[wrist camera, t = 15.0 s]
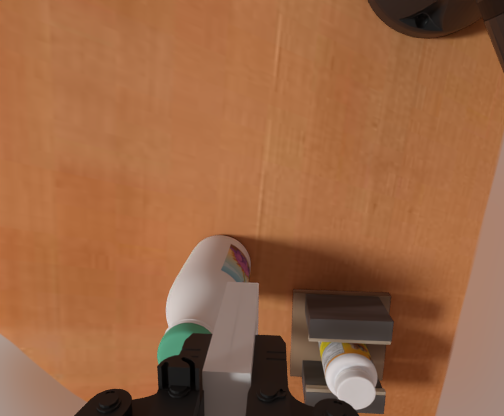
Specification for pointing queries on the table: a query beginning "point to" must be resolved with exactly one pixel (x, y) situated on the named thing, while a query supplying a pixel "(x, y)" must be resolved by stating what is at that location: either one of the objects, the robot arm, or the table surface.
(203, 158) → the table surface
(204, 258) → the milk bottle
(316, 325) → the clamp block
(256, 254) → the table surface
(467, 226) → the table surface
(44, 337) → the table surface
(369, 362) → the supplement bottle
